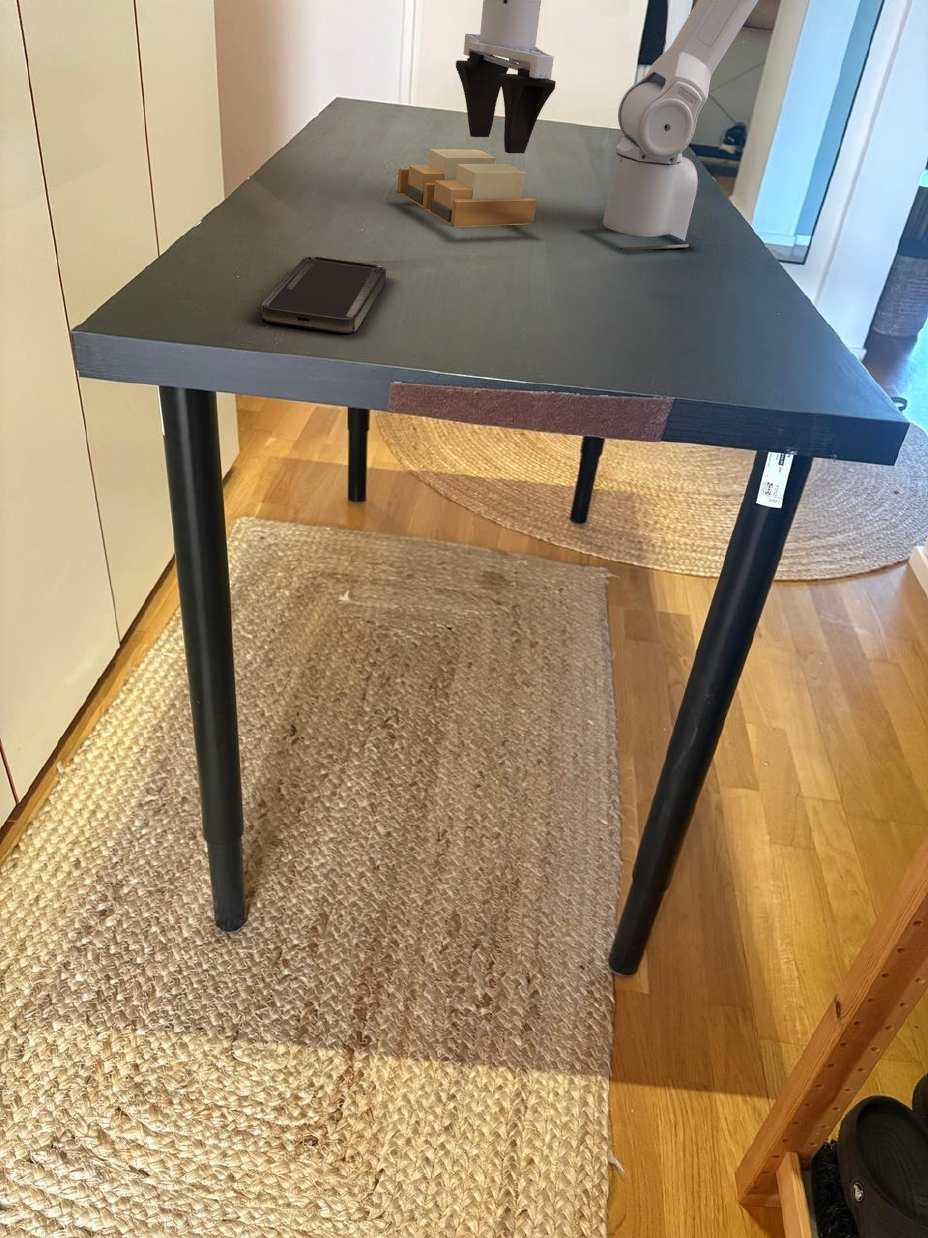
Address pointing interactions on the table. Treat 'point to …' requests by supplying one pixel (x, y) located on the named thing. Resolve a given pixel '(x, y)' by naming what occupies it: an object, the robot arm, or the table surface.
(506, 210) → the wooden compartment tray
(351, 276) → the phone
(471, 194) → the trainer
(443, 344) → the table surface
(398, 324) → the table surface
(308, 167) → the table surface
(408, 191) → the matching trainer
